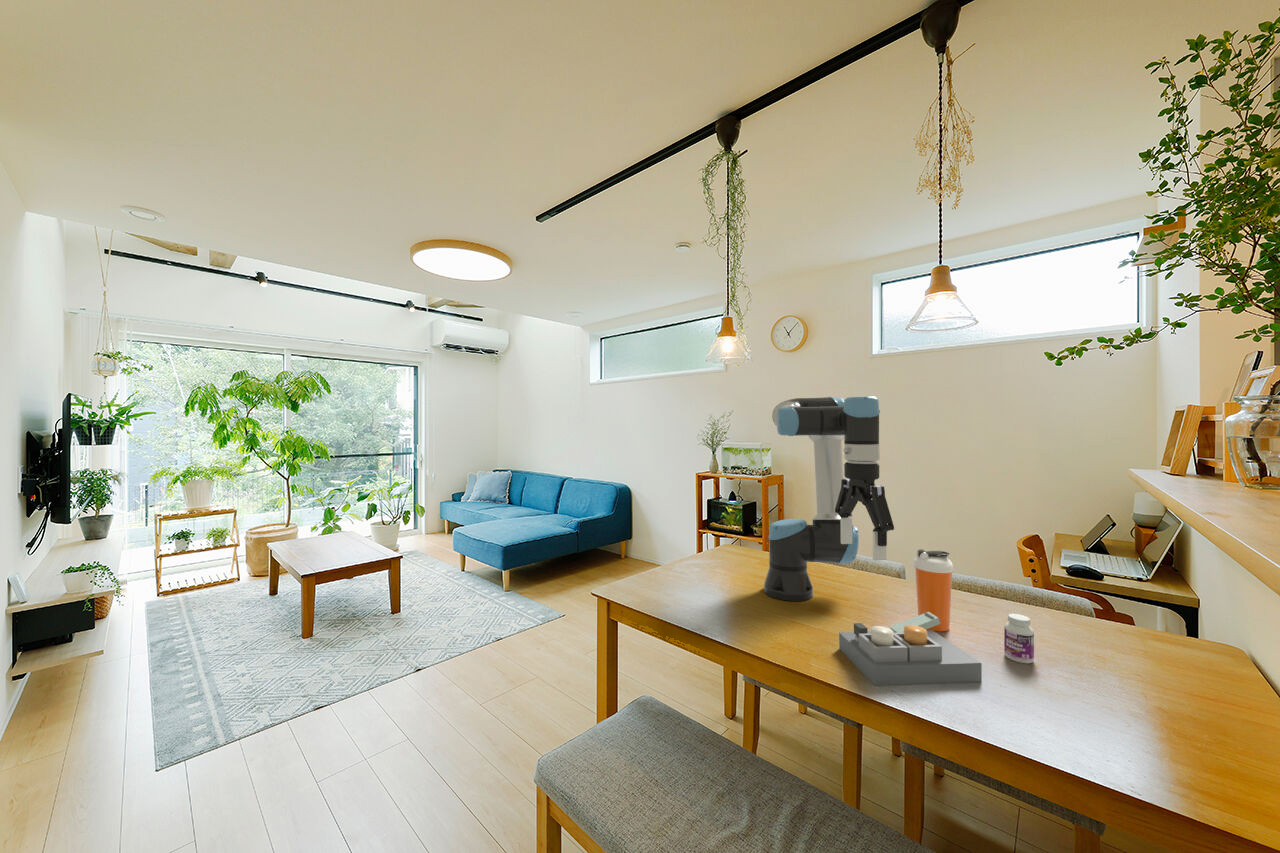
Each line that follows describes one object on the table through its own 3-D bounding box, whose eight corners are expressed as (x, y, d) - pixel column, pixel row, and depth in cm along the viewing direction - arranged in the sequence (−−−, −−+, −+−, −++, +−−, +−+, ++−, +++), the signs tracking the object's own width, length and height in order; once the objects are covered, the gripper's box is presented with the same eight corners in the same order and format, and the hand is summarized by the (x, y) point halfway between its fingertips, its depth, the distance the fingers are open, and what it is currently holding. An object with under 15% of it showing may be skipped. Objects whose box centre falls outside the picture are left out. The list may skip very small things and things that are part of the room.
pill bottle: (1003, 659, 108) (1003, 617, 108) (1005, 650, 112) (1004, 610, 112) (1034, 666, 105) (1033, 623, 105) (1034, 657, 109) (1034, 616, 109)
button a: (867, 639, 105) (867, 626, 105) (886, 639, 105) (886, 625, 105) (877, 649, 101) (877, 635, 101) (897, 648, 101) (897, 634, 101)
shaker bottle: (960, 634, 121) (959, 557, 121) (921, 631, 123) (921, 555, 123) (944, 620, 130) (944, 548, 130) (909, 618, 131) (908, 546, 131)
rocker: (892, 632, 112) (889, 626, 112) (930, 617, 112) (928, 610, 112) (900, 639, 108) (898, 632, 108) (940, 623, 109) (938, 616, 109)
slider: (853, 633, 111) (853, 623, 111) (861, 633, 111) (861, 623, 111) (859, 638, 108) (859, 628, 108) (867, 638, 108) (867, 628, 108)
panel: (839, 648, 114) (839, 620, 114) (931, 646, 115) (931, 617, 115) (874, 685, 98) (874, 651, 98) (981, 681, 99) (981, 648, 99)
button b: (899, 638, 106) (899, 625, 106) (919, 638, 106) (918, 624, 106) (911, 648, 101) (911, 634, 101) (931, 647, 101) (931, 633, 101)
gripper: (820, 457, 123) (821, 538, 123) (878, 467, 98) (879, 568, 99) (847, 457, 124) (848, 537, 124) (912, 466, 99) (912, 566, 99)
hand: (862, 551), depth 111 cm, fingers open, 13 cm apart
